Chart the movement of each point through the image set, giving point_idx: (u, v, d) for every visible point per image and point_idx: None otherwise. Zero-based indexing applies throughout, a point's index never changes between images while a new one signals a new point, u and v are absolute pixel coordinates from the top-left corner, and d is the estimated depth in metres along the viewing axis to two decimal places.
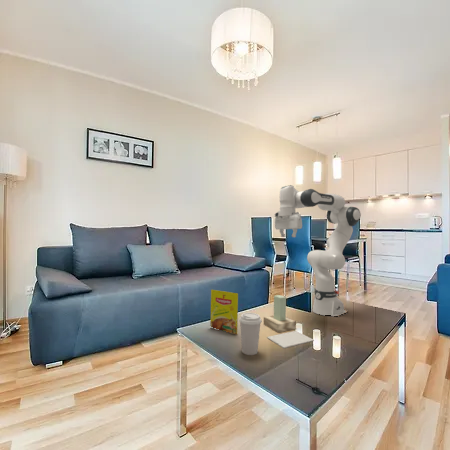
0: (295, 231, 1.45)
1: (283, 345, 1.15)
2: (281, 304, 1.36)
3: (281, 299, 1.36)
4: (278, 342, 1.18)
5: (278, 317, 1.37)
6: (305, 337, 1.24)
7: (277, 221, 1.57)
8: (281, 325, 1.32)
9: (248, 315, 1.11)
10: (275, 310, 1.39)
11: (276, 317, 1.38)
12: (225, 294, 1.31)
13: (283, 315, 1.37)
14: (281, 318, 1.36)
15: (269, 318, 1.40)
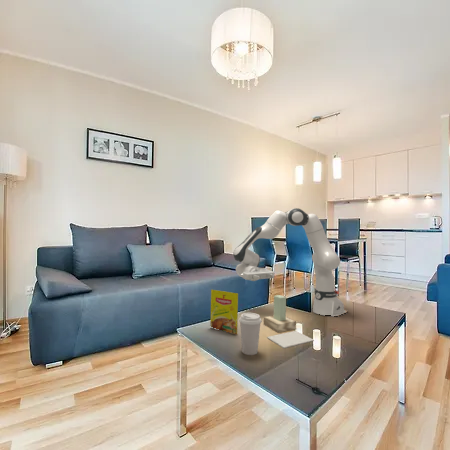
0: (254, 277, 1.50)
1: (283, 345, 1.15)
2: (281, 304, 1.36)
3: (281, 299, 1.36)
4: (278, 342, 1.18)
5: (278, 317, 1.37)
6: (305, 337, 1.24)
7: None
8: (281, 325, 1.32)
9: (248, 315, 1.11)
10: (275, 310, 1.39)
11: (276, 317, 1.38)
12: (225, 294, 1.31)
13: (283, 315, 1.37)
14: (281, 318, 1.36)
15: (269, 318, 1.40)
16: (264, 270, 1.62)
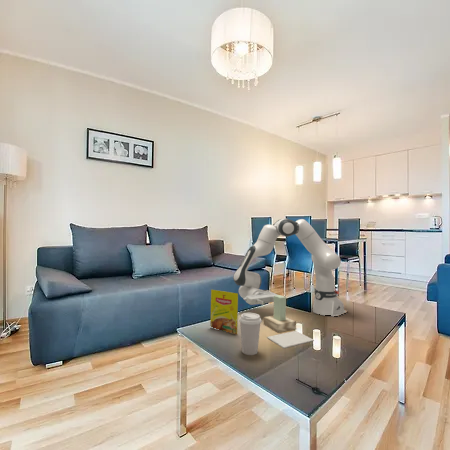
0: (257, 302, 1.46)
1: (283, 345, 1.15)
2: (281, 304, 1.36)
3: (281, 299, 1.36)
4: (278, 342, 1.18)
5: (278, 317, 1.37)
6: (305, 337, 1.24)
7: None
8: (281, 325, 1.32)
9: (248, 315, 1.11)
10: (275, 310, 1.39)
11: (276, 317, 1.38)
12: (225, 294, 1.31)
13: (283, 315, 1.37)
14: (281, 318, 1.36)
15: (269, 318, 1.40)
16: (268, 293, 1.59)
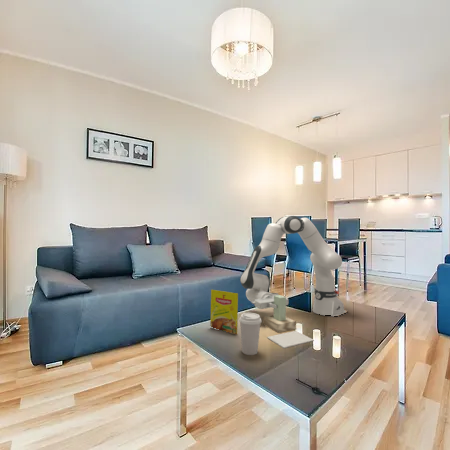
0: (270, 305, 1.39)
1: (283, 345, 1.15)
2: (281, 304, 1.36)
3: (281, 299, 1.36)
4: (278, 342, 1.18)
5: (278, 317, 1.37)
6: (305, 337, 1.24)
7: None
8: (281, 325, 1.32)
9: (248, 315, 1.11)
10: (275, 310, 1.39)
11: (276, 317, 1.38)
12: (225, 294, 1.31)
13: (283, 315, 1.37)
14: (281, 318, 1.36)
15: (269, 318, 1.40)
16: None
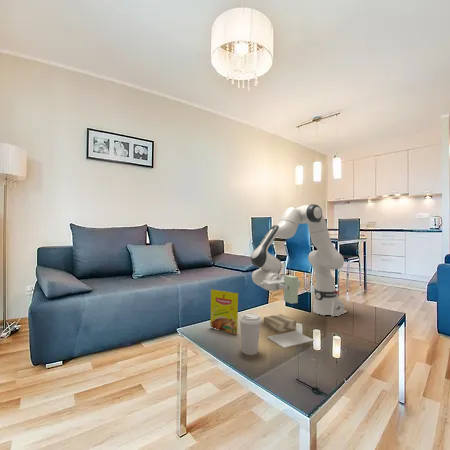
0: (280, 286, 1.23)
1: (283, 345, 1.15)
2: (293, 285, 1.21)
3: (293, 279, 1.21)
4: (278, 342, 1.18)
5: (289, 299, 1.21)
6: (305, 337, 1.24)
7: None
8: (281, 325, 1.32)
9: (248, 315, 1.11)
10: (286, 292, 1.23)
11: (287, 299, 1.22)
12: (225, 294, 1.31)
13: (294, 297, 1.21)
14: (293, 301, 1.21)
15: (269, 318, 1.40)
16: None
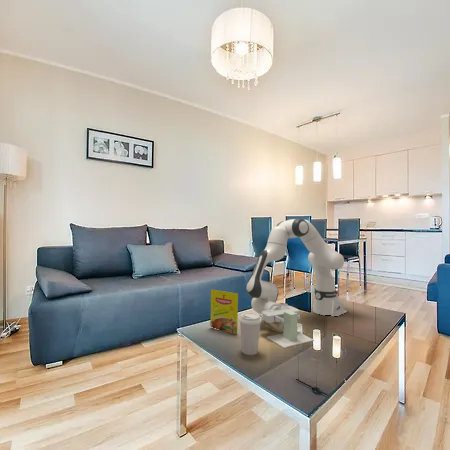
0: (277, 319, 1.22)
1: (283, 345, 1.15)
2: (292, 322, 1.20)
3: (292, 316, 1.20)
4: (278, 342, 1.18)
5: (289, 337, 1.20)
6: (305, 337, 1.24)
7: None
8: (281, 325, 1.32)
9: (248, 315, 1.11)
10: (285, 328, 1.23)
11: (286, 336, 1.22)
12: (225, 294, 1.31)
13: (294, 334, 1.21)
14: (292, 338, 1.20)
15: None
16: (287, 307, 1.34)
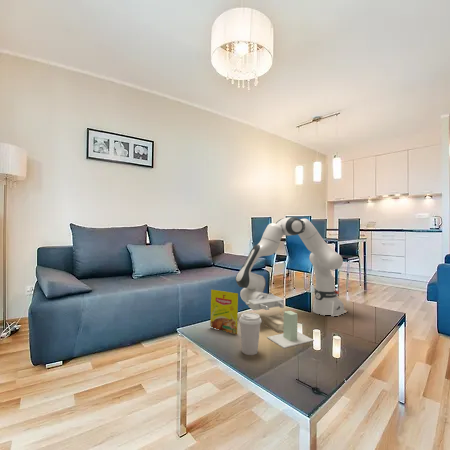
0: (261, 307, 1.33)
1: (283, 345, 1.15)
2: (292, 322, 1.20)
3: (292, 316, 1.20)
4: (278, 342, 1.18)
5: (289, 337, 1.20)
6: (305, 337, 1.24)
7: None
8: (281, 325, 1.32)
9: (248, 315, 1.11)
10: (285, 328, 1.23)
11: (286, 336, 1.22)
12: (225, 294, 1.31)
13: (294, 334, 1.21)
14: (292, 338, 1.20)
15: (269, 318, 1.40)
16: (272, 297, 1.45)
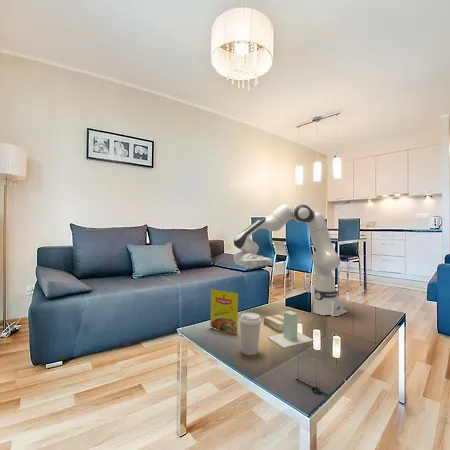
0: (251, 263, 1.49)
1: (283, 345, 1.15)
2: (292, 322, 1.20)
3: (292, 316, 1.20)
4: (278, 342, 1.18)
5: (289, 337, 1.20)
6: (305, 337, 1.24)
7: None
8: (281, 325, 1.32)
9: (248, 315, 1.11)
10: (285, 328, 1.23)
11: (286, 336, 1.22)
12: (225, 294, 1.31)
13: (294, 334, 1.21)
14: (292, 338, 1.20)
15: (269, 318, 1.40)
16: (262, 257, 1.61)
